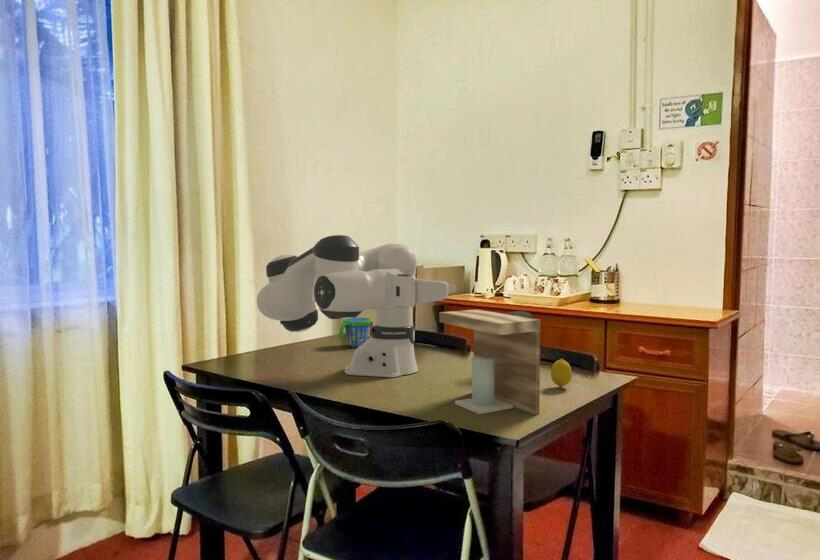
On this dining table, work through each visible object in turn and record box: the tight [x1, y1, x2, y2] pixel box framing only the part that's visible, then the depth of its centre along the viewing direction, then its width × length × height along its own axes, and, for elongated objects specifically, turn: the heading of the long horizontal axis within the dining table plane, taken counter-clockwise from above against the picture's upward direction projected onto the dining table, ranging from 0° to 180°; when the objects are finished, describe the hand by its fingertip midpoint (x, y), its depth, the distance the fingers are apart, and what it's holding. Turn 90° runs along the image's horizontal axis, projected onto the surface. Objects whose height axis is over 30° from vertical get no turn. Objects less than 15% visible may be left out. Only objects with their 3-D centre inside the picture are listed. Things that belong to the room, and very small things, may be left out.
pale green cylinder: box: [471, 356, 495, 406], centre depth 148 cm, size 6×6×11 cm
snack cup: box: [338, 317, 374, 348], centre depth 230 cm, size 16×10×10 cm
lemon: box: [550, 358, 573, 389], centre depth 165 cm, size 6×6×8 cm
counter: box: [438, 308, 541, 416], centre depth 148 cm, size 12×24×22 cm, turn 30°
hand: (442, 286), depth 140 cm, fingers open, 8 cm apart
